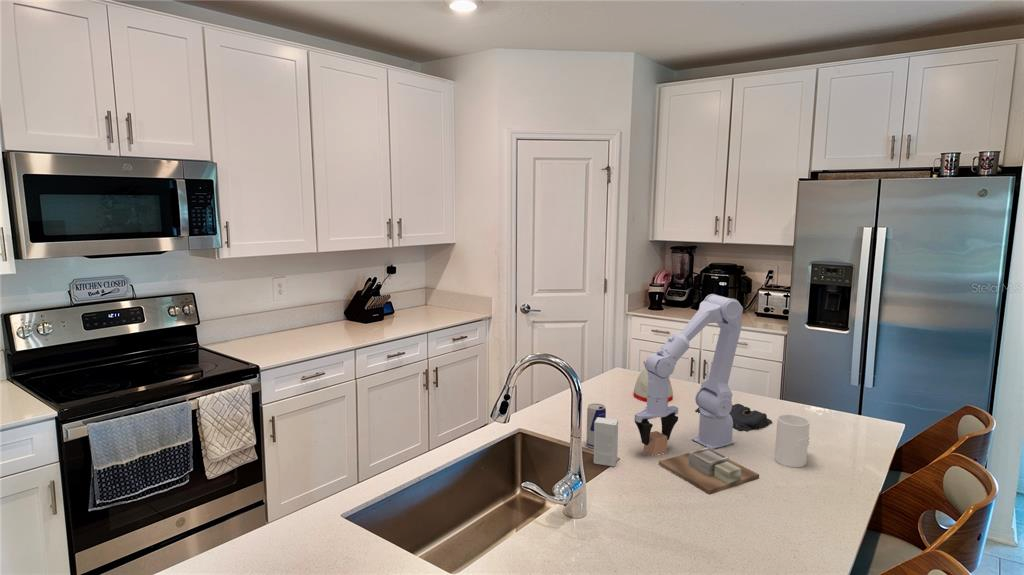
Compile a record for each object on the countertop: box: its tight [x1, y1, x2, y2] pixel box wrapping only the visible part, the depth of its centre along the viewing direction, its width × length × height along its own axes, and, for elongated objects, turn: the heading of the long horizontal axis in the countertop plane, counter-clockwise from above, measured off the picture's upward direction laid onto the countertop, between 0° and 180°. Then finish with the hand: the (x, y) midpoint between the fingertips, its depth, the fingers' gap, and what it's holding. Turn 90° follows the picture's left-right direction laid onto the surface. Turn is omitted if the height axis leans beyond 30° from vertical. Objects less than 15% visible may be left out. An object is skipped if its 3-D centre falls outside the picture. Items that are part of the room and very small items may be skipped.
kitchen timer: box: [633, 360, 674, 403], centre depth 212 cm, size 14×14×15 cm
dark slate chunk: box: [694, 403, 773, 433], centre depth 193 cm, size 15×22×5 cm
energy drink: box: [586, 403, 607, 450], centre depth 170 cm, size 5×5×12 cm
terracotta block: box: [643, 430, 668, 457], centre depth 167 cm, size 4×4×5 cm
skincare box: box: [593, 417, 619, 467], centre depth 160 cm, size 6×4×12 cm
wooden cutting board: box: [658, 447, 760, 495], centre depth 155 cm, size 18×18×5 cm
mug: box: [774, 414, 810, 468], centre depth 162 cm, size 8×12×12 cm
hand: (655, 441), depth 167 cm, fingers open, 7 cm apart
